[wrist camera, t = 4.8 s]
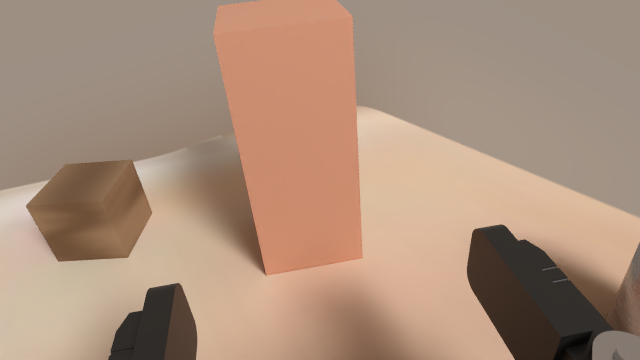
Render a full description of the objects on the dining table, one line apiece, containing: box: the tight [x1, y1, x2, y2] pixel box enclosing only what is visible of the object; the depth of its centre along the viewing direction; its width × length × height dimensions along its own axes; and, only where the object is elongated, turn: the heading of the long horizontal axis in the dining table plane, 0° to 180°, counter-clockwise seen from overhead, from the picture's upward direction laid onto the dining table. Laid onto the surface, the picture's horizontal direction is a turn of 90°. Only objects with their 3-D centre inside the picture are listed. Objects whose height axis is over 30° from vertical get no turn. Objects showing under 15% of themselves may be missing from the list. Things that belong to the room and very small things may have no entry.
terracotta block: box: [213, 0, 362, 275], centre depth 21 cm, size 5×5×12 cm
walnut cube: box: [26, 160, 152, 261], centre depth 24 cm, size 4×4×4 cm
